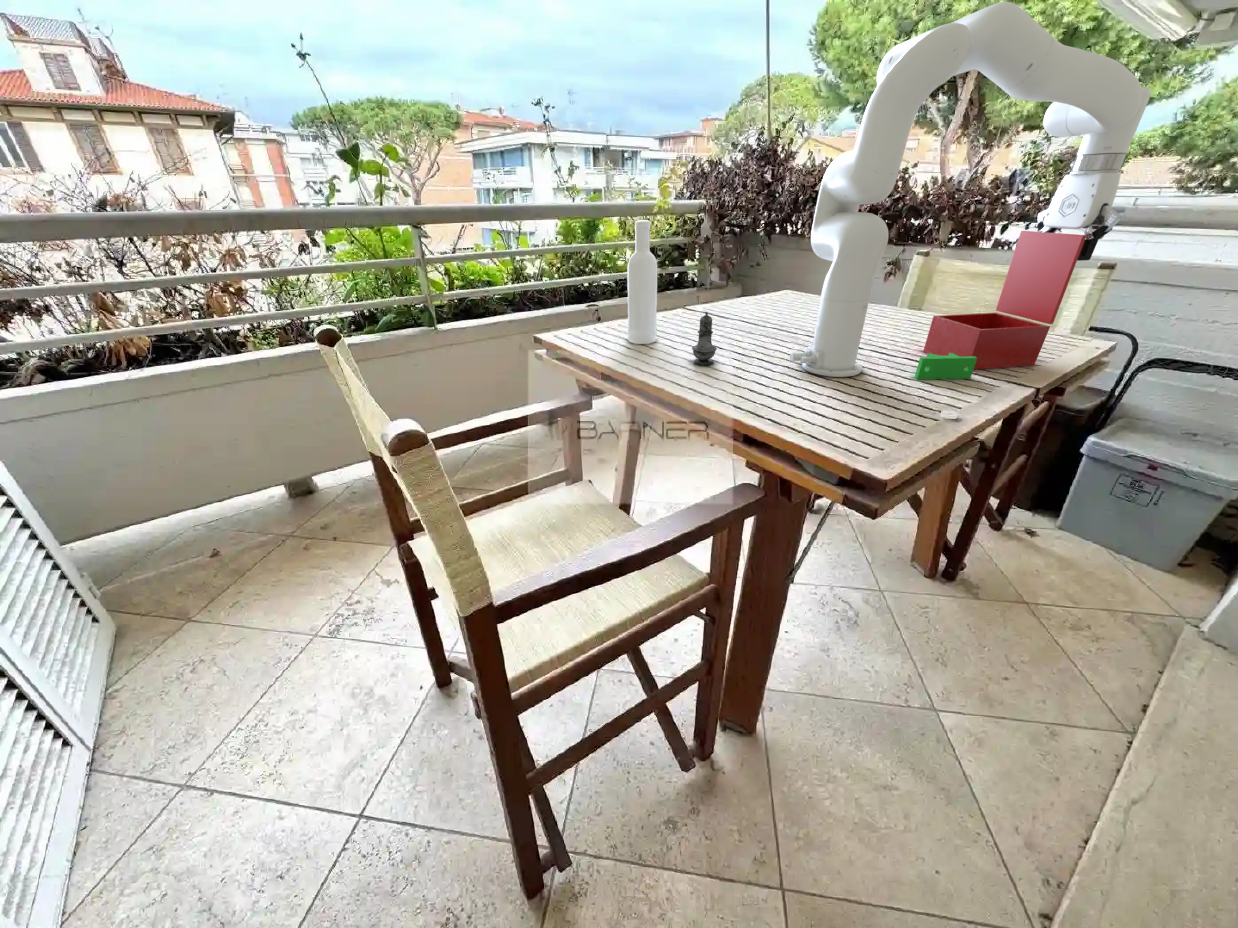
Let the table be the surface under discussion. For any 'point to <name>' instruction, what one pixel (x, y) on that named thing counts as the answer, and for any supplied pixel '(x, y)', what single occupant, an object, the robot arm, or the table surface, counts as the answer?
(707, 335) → the salt shaker
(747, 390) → the table surface
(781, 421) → the table surface
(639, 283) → the bottle
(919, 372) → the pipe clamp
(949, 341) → the red hinged box
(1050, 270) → the red box lid
